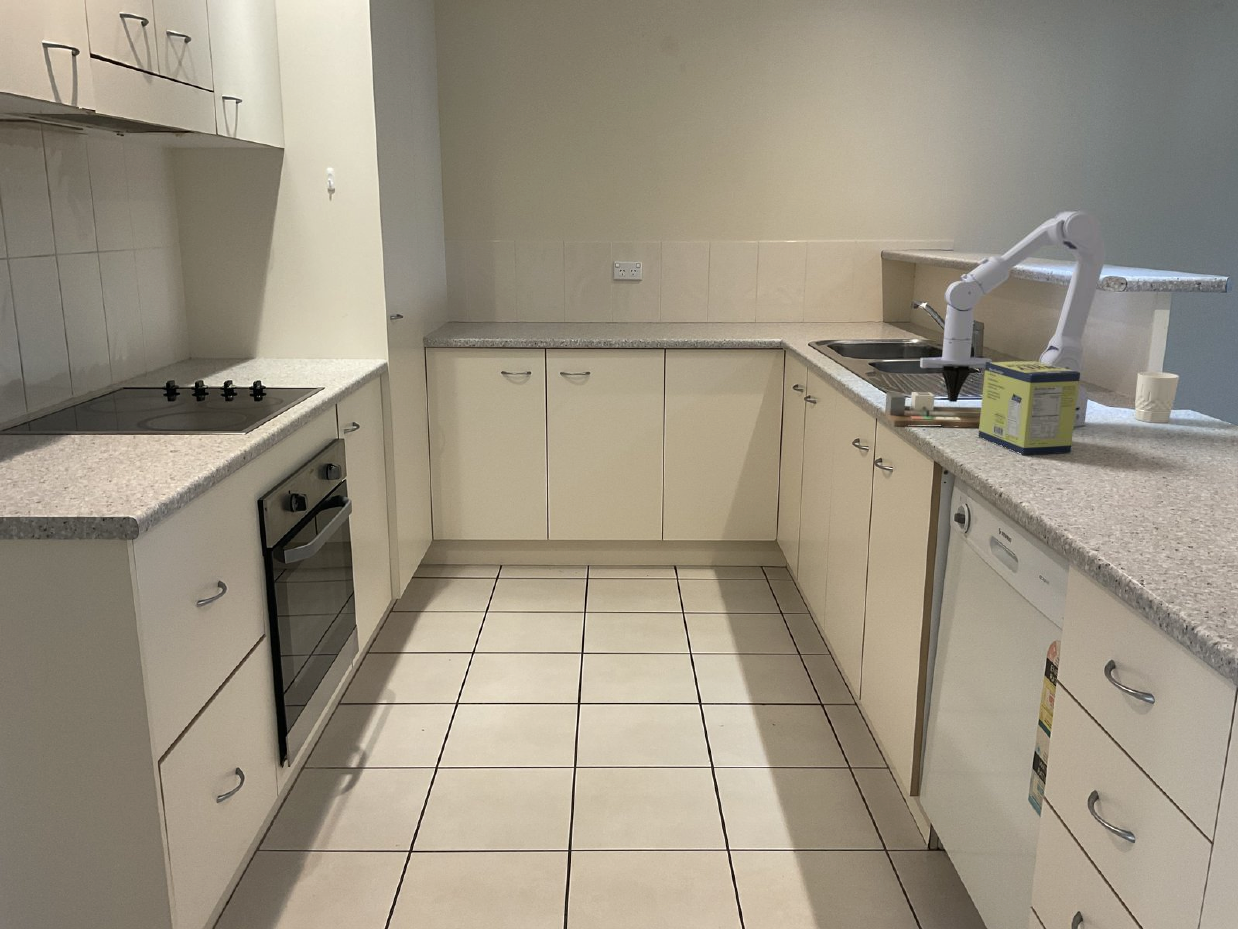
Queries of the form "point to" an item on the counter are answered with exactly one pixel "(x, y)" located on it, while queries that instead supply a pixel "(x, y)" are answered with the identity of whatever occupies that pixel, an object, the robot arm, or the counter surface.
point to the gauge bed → (933, 421)
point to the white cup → (1155, 396)
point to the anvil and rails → (897, 407)
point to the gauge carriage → (922, 402)
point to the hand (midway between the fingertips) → (952, 400)
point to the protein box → (1029, 406)
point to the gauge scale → (935, 418)
